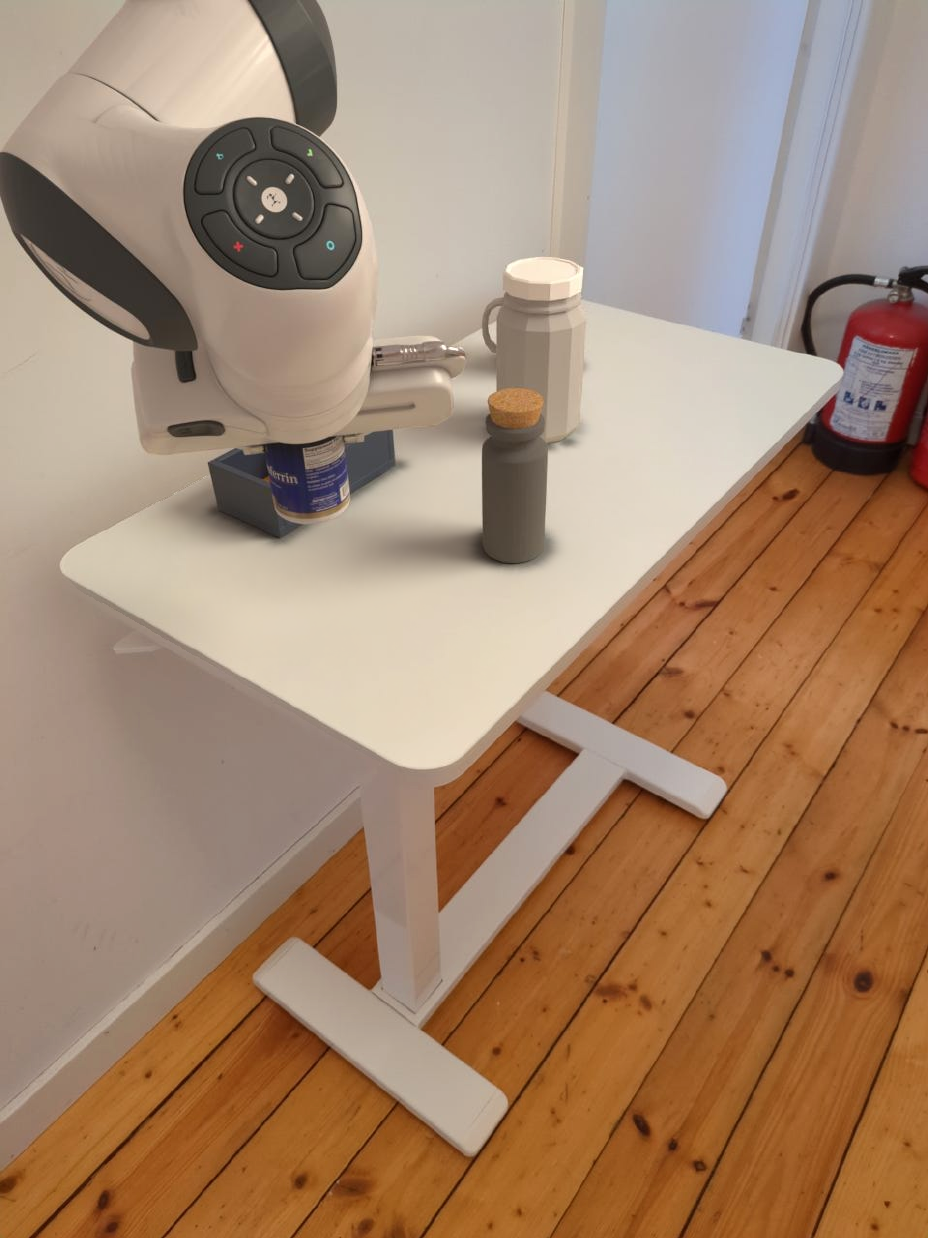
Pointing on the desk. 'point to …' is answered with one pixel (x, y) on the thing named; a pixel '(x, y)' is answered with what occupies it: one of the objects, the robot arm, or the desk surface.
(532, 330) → the jar
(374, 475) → the rack
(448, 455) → the desk surface
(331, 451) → the pill bottle
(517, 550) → the bottle
